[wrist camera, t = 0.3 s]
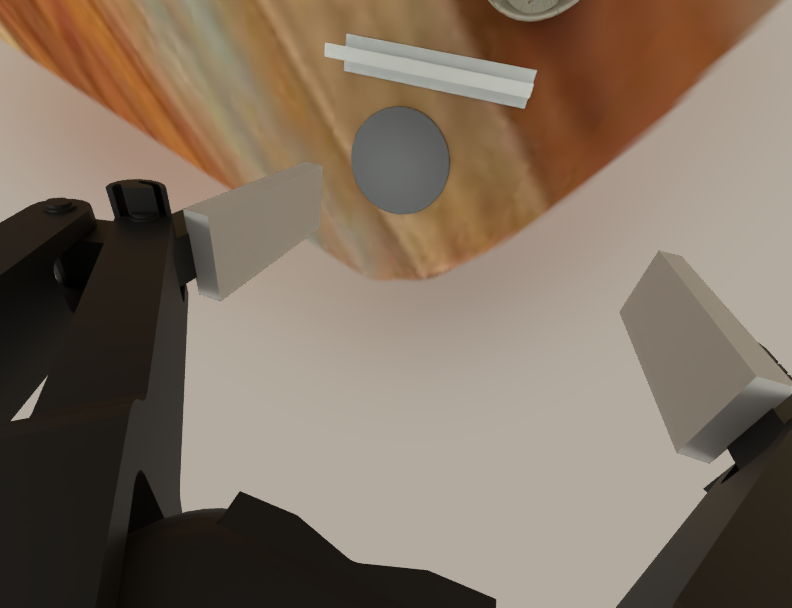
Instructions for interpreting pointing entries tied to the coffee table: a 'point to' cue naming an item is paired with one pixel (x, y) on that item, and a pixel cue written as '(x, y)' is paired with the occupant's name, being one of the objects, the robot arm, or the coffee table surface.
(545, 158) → the coffee table surface
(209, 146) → the coffee table surface
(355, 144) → the coaster
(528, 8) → the mug
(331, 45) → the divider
